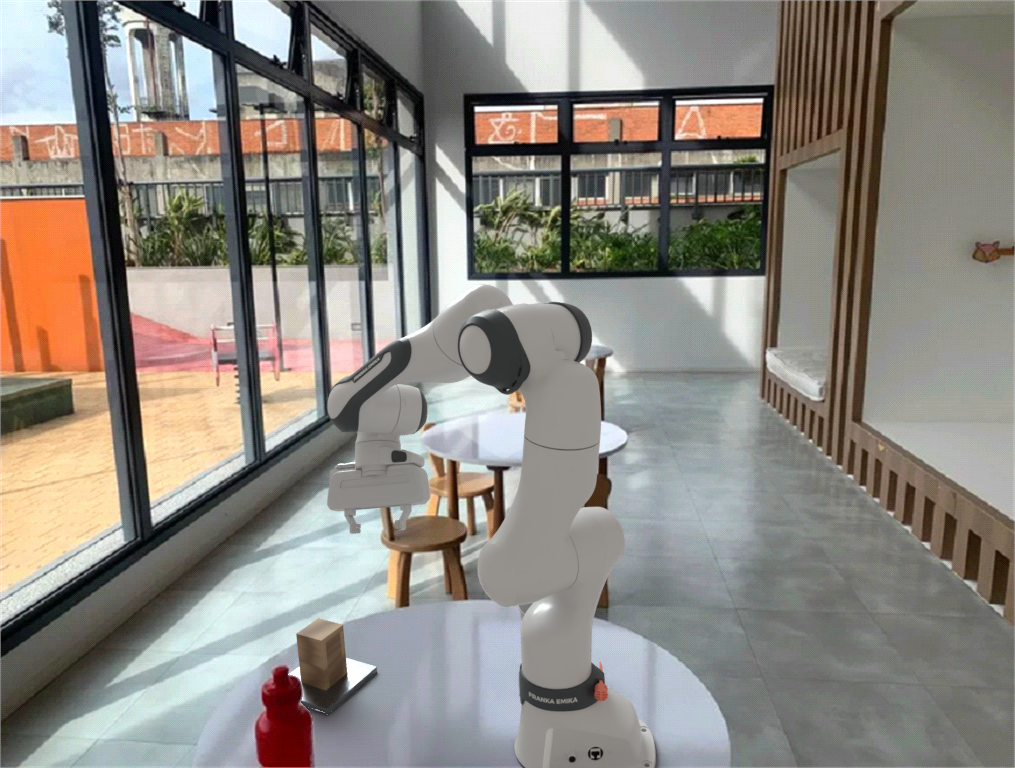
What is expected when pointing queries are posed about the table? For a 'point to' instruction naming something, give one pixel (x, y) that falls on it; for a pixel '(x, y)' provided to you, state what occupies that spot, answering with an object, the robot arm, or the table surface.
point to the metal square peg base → (336, 687)
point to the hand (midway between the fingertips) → (377, 531)
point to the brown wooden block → (321, 653)
